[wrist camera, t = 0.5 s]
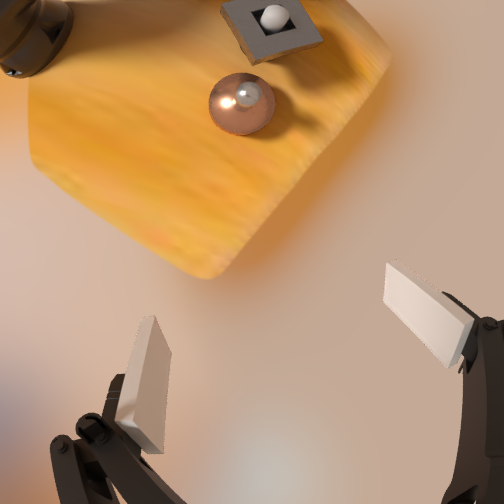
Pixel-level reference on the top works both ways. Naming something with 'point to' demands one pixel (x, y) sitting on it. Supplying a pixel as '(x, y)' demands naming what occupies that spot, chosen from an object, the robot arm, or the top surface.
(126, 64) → the top surface
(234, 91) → the hub
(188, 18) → the top surface
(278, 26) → the stand
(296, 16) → the hollow square frame
